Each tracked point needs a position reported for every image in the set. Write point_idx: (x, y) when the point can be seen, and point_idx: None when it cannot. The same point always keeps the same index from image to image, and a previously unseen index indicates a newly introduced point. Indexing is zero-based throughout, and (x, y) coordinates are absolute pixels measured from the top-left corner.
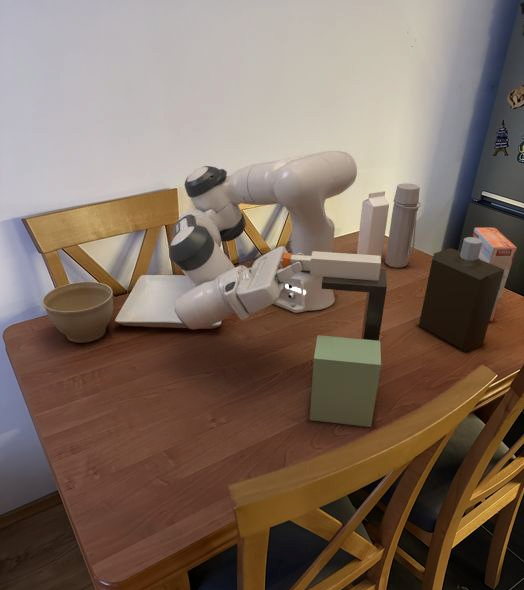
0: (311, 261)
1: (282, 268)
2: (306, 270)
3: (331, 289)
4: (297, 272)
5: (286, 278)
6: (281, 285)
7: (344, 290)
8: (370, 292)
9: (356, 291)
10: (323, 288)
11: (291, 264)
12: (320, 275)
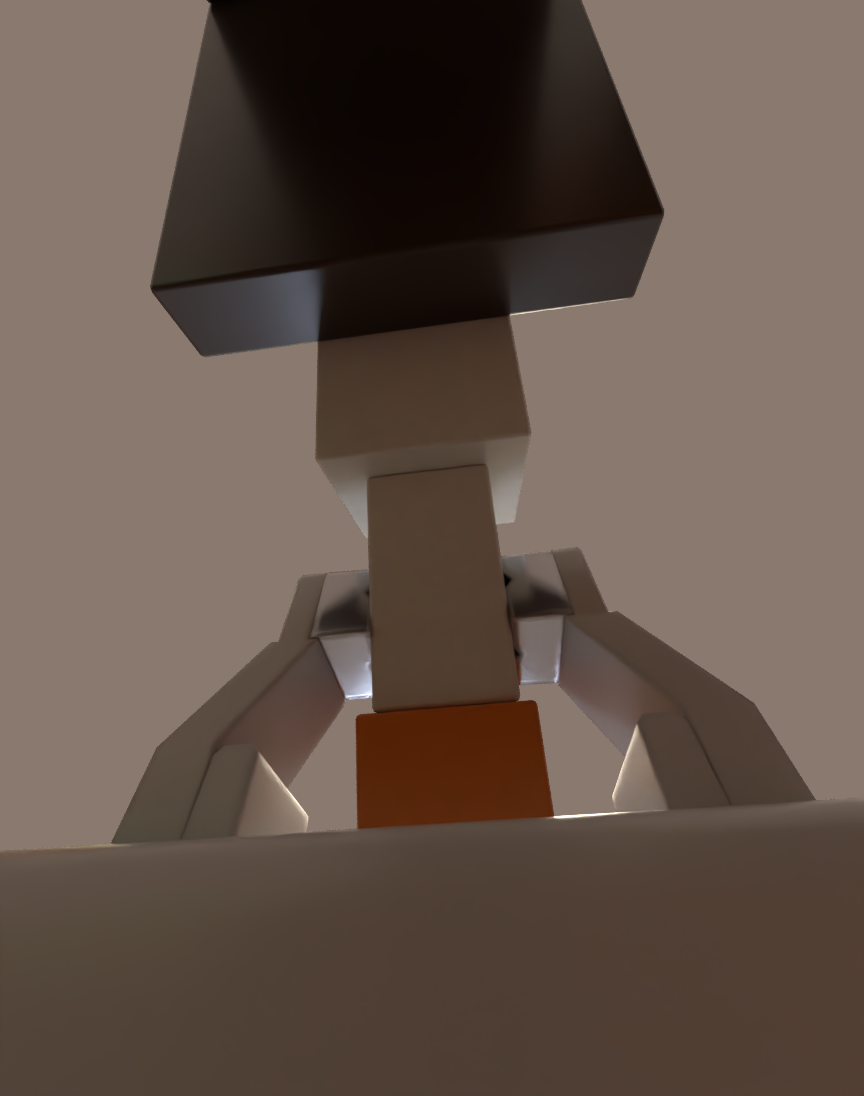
0: (359, 523)
1: (363, 823)
2: (369, 515)
3: (165, 214)
4: (288, 614)
5: (174, 753)
6: (16, 856)
7: (184, 128)
8: (211, 3)
9: (198, 63)
10: (156, 280)
11: (343, 694)
12: (318, 374)
